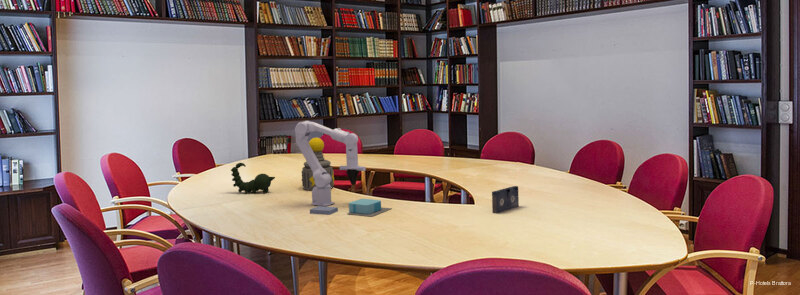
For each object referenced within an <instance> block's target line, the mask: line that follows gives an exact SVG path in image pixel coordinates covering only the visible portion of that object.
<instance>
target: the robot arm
mask: <svg viewBox="0 0 800 295" xmlns="http://www.w3.org/2000/svg"><path fill="white" fill-rule="evenodd" d="M314 132H317V133H320V134H324V135H327V136H330V138H331V139H332V140H334V141H336V142H339V143H343V144H344V145H345V156H346V165H340V166H339V171H342V170H343V171H345V173H346V175H347V177H348V179H349V181H350V185H354V186H355V185H356V184H357V183H356V182H357V178H358V176H359V173H360V171H361V172H365V171H367V170H366V169H367V168H366V167H367V166H362V165H359V156H358V155H359V154H358V153H359V152H358V143H359V137H358V135H357V134H356V133H355V132H352V133H350V131H345V130H342V129H341V128H340V127H338V128H334V129H332V128H330V127H327V126H325V125H322V124H320V123H317V122H315V121H310V120H304V121H299V122H298V123H297V124H296V126H295V128H294V133H295V143H296V145H297V147H298V148H299V150H300V152H301V155H303V157H304V159H305V160H306V161H307V163H308V164H309V166H310V168H311V170H312V171H313V178H314V180H315V185H316V187H314V188H313V190H312V191H311V200H312V201H311V202H312V203H311V204H310V205H311V206H324V207H329V206H331V205H334V204H335V203H336V202H335V201H332V192H331V191H332V188H331V186H330V183H331V181H332V177H331V175H330V174H328V173H327V172H326V170H325V169H324V168H322V166H321V165H320V163H319V161H318V159H317V158H316V156H315V154H314V152H313V151H312V149H311V147H310V145H309V141H308V139H309V137H310V134H311V133H314ZM306 161H305V162H306Z"/></svg>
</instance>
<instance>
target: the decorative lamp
mask: <svg viewBox="0 0 800 295" xmlns="http://www.w3.org/2000/svg"><path fill="white" fill-rule="evenodd" d="M308 143H309V145H310V147H311V149H312V151H313V152H314V154H315V156H316V158H317V159H318V161H319V163H320V165H321V166H322V168H324V169H325V170H326V172H327V173H328V174H330V175H331V177H332V181H331V183H330V186H331V187H332V188H331V189H333V188H334V186H335V177H334V176H335V175H334V174H335V173H334V172H335V171H334V168H333V166H332V165H331V163H332V162H331V161H330V160H328V159H325V157H324V153H323V150H324V147H325V143H324V140H322V138H320V137H313V138H311V139H310V140H309V141H308ZM301 182H302V183H301V186H302V187H303V190H305V191H310V192H312V190H313V188H314V187H316V185H315V180H314V178H313V171H312V170H311V168H310V166H309V164H308V163H307V161H305V162H303V167H302V168H301Z"/></svg>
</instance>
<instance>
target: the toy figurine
mask: <svg viewBox="0 0 800 295" xmlns="http://www.w3.org/2000/svg"><path fill="white" fill-rule="evenodd" d="M241 167H246V164H245V163H244V162H238V163H236V164H235V166H234V167H232V168H231V169H230V171H231V172H232V173H231V176H232V177H233V178H232V179H231V181H232V182H234V184H232V186H233V187H234V188H235V187H237V188H238V190H237V192H238V193H241V192H244V193H245V194H246V195H247V194H249V193H253V194H256V193H257V192H259V191H262V192H263V193H264V194H266V193H268V192H269V187H270V186H271V184H272V181H273V180H275V178H276V177H275V176H269V175H268V174H266V173H259V174H258V175H256V176H255V178H254V179H250V181H246V182H245V181H243V179H242V177H241V175H240V171H239V168H241Z"/></svg>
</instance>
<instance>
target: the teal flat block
mask: <svg viewBox="0 0 800 295" xmlns="http://www.w3.org/2000/svg"><path fill="white" fill-rule="evenodd" d="M381 207H382V200H380V199H371V198H370V199H369V198H360V199H356V200H353V201H350V202H349V203H348V213H359V214H371V213H374V212H376V211H379V210H381Z"/></svg>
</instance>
